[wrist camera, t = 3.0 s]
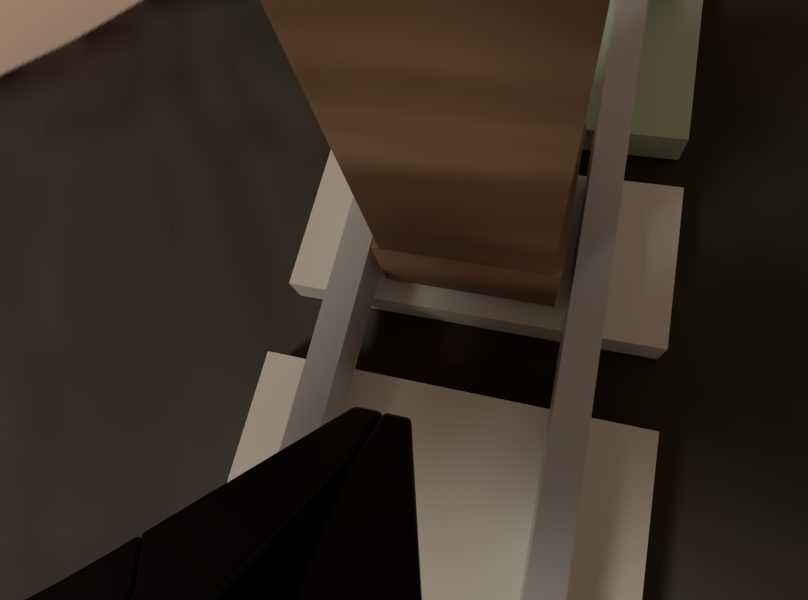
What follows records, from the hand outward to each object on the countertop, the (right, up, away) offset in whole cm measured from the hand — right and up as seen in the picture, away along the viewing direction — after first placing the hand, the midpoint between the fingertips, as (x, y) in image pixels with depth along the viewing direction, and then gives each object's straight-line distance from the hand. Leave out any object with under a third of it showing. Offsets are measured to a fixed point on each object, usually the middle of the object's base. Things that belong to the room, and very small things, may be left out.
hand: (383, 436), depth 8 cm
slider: (+2, +4, +7) cm, 9 cm away
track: (+3, +4, +9) cm, 10 cm away
